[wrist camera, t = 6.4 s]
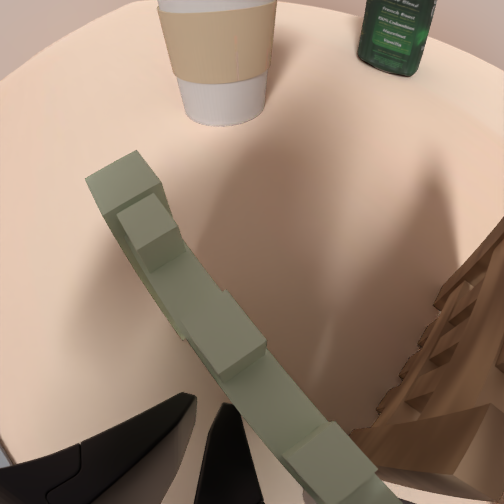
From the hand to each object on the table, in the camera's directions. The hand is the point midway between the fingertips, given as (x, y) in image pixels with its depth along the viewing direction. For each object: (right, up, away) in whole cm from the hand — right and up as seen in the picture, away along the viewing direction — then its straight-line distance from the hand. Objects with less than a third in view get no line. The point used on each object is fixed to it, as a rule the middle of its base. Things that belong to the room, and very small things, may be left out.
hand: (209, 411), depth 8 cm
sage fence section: (+1, -3, +6) cm, 6 cm away
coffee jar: (+18, +28, +25) cm, 42 cm away
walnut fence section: (+9, -2, +7) cm, 11 cm away
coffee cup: (-1, +17, +19) cm, 25 cm away
